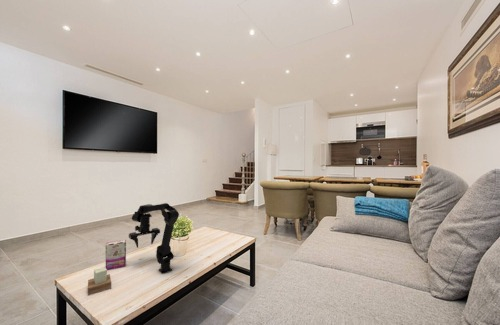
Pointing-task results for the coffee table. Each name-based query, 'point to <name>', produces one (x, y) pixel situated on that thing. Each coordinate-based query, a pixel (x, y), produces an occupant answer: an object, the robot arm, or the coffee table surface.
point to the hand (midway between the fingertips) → (144, 245)
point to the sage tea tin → (100, 275)
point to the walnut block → (98, 286)
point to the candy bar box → (115, 254)
